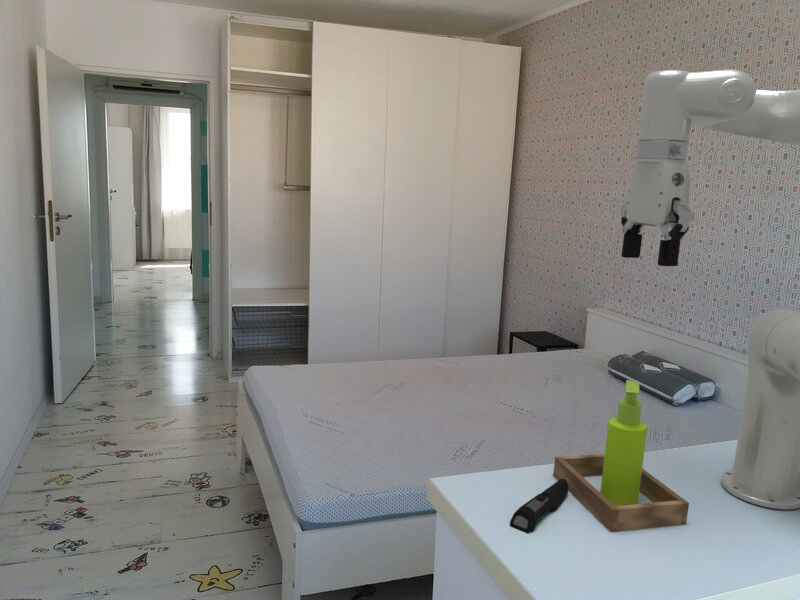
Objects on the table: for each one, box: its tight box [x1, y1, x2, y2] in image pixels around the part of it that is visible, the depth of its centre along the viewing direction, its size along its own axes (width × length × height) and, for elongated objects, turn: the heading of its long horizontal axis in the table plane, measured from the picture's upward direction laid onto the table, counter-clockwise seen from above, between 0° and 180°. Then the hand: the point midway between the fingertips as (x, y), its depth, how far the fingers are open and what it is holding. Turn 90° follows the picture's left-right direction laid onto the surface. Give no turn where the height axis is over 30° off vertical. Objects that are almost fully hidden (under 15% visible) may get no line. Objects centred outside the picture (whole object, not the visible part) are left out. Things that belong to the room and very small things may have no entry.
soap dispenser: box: [599, 379, 648, 506], centre depth 101 cm, size 6×7×20 cm
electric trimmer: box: [509, 479, 569, 534], centre depth 99 cm, size 4×16×3 cm, turn 142°
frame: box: [552, 453, 690, 533], centre depth 104 cm, size 13×18×4 cm
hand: (648, 261), depth 103 cm, fingers open, 9 cm apart
